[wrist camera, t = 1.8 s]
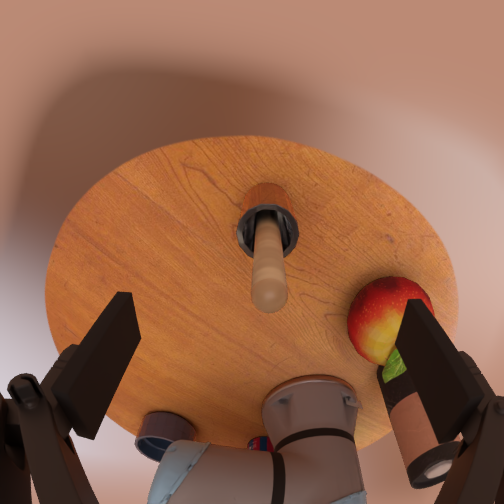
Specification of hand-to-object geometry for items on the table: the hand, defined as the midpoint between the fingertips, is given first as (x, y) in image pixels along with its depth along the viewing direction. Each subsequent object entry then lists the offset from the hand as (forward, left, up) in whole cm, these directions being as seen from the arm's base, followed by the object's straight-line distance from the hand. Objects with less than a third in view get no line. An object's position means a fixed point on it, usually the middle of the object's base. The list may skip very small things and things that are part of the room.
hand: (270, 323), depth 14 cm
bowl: (-40, +16, -22) cm, 48 cm away
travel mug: (-24, -21, -22) cm, 39 cm away
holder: (0, 0, -22) cm, 22 cm away
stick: (0, 0, -21) cm, 21 cm away
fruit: (-12, -15, -22) cm, 29 cm away
